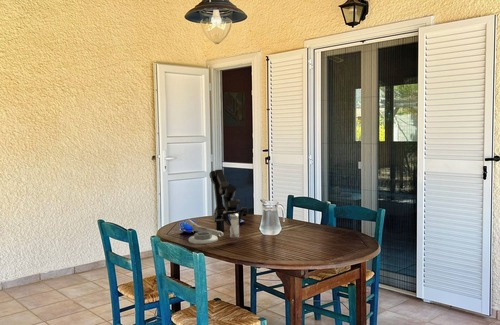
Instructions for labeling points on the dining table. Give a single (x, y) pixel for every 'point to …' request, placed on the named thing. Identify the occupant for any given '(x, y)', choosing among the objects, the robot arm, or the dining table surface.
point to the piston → (234, 225)
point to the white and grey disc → (203, 238)
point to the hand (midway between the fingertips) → (234, 225)
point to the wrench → (203, 228)
